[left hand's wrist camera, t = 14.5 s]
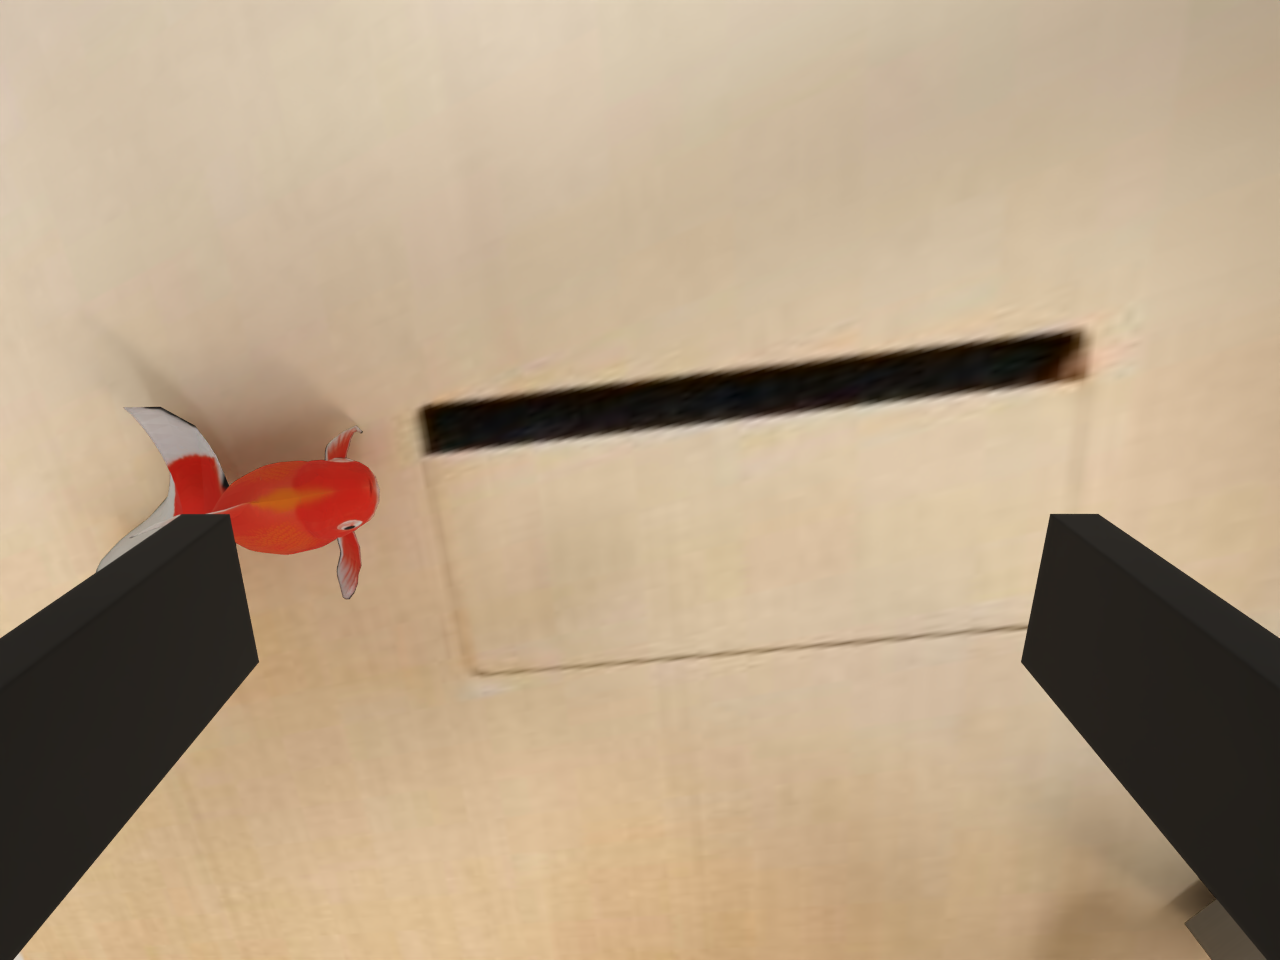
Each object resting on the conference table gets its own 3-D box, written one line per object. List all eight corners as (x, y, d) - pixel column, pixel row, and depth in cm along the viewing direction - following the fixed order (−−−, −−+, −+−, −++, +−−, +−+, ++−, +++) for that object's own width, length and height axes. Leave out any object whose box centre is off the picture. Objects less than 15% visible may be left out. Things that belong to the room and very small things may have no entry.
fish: (429, 660, 37) (244, 714, 27) (208, 603, 43) (-1, 630, 34) (453, 435, 36) (273, 414, 27) (227, 411, 43) (21, 387, 34)
